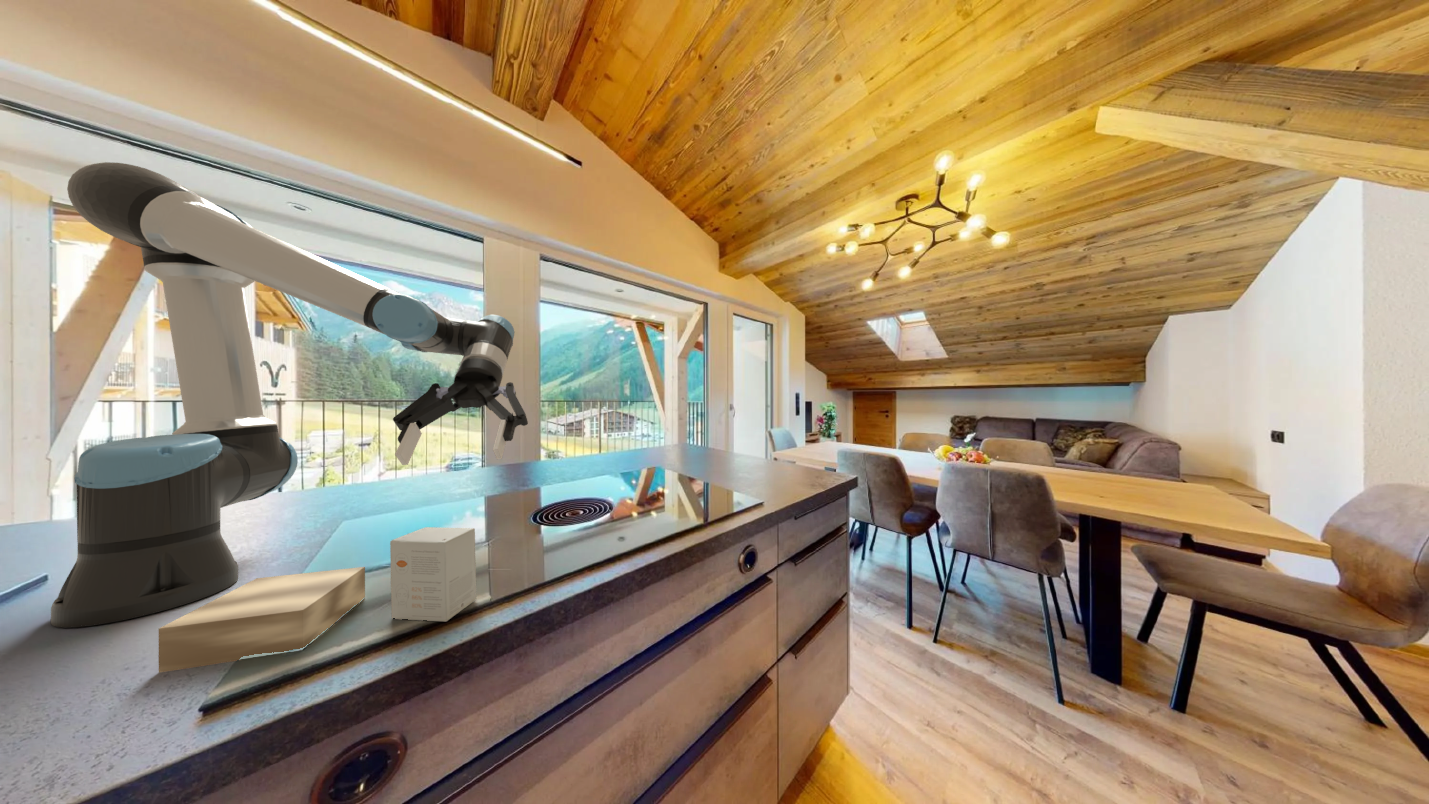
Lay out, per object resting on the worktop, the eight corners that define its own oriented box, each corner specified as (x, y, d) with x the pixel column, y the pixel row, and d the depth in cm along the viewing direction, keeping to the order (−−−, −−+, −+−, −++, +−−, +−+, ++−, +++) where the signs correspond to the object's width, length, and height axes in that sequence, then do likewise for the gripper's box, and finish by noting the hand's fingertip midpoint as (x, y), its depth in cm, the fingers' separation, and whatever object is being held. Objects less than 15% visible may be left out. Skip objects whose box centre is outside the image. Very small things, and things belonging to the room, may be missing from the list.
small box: (477, 600, 54) (477, 527, 54) (445, 623, 49) (445, 541, 49) (426, 598, 55) (425, 525, 55) (389, 619, 50) (389, 539, 50)
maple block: (257, 614, 51) (256, 578, 51) (364, 601, 55) (364, 566, 55) (158, 675, 40) (158, 628, 40) (303, 653, 43) (303, 609, 43)
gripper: (551, 383, 81) (538, 465, 66) (417, 385, 75) (370, 475, 61) (546, 356, 76) (530, 438, 61) (400, 356, 70) (345, 446, 55)
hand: (450, 457), depth 61 cm, fingers open, 13 cm apart
